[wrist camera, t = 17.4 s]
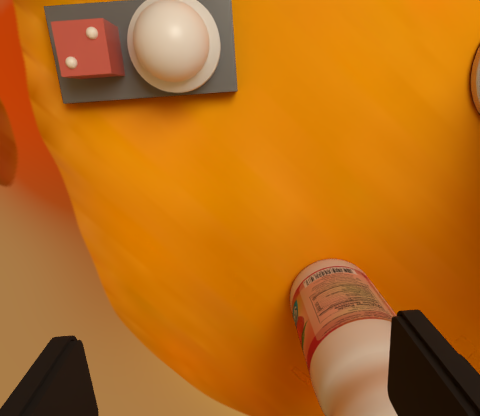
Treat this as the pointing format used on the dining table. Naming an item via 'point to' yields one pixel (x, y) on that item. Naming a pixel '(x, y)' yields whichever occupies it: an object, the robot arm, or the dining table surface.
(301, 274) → the fruit juice
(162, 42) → the dome
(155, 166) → the dining table surface
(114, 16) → the game base
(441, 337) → the robot arm
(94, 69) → the red die
